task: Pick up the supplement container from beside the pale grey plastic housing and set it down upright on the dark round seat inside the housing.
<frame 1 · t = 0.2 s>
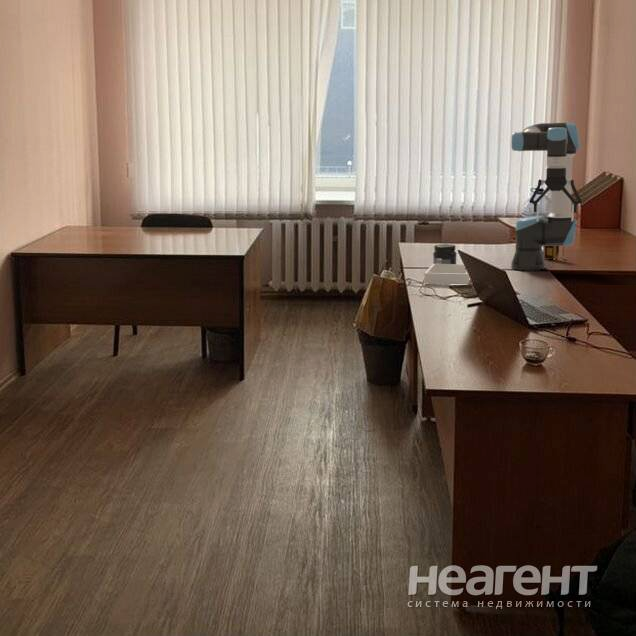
hand: (554, 220, 403), 28 cm above the table, tool pointing down, fingers open, 13 cm apart
supplement container: (444, 272, 455), on the table
housing: (449, 280, 435), on the table
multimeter: (555, 259, 482), on the table
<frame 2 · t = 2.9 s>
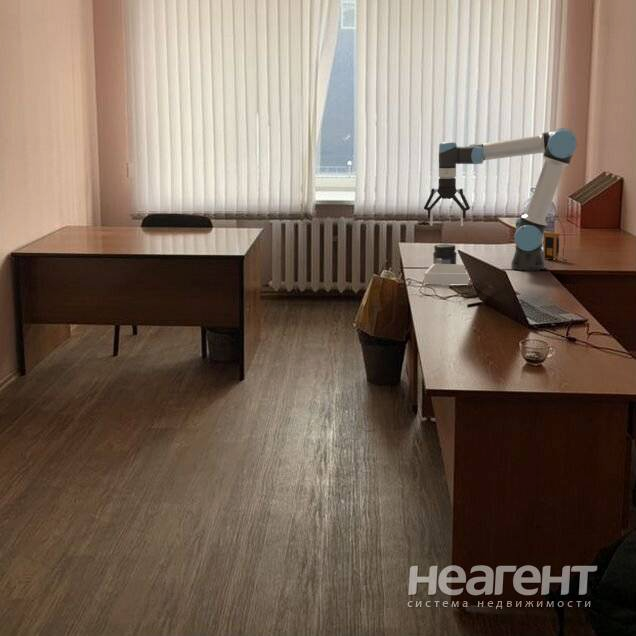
hand: (446, 225, 449), 21 cm above the table, tool pointing down, fingers open, 13 cm apart
nothing on the table moved.
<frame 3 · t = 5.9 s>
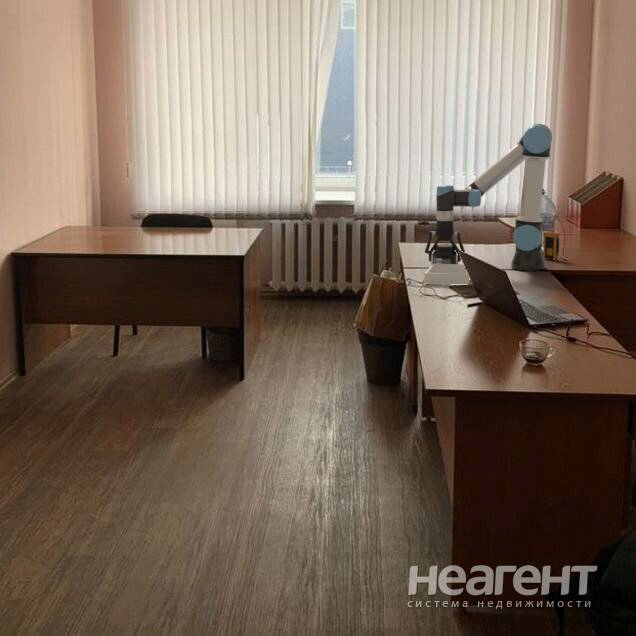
hand: (444, 268, 455), 1 cm above the table, tool pointing down, fingers closed on supplement container, 10 cm apart
supplement container: (444, 272, 455), on the table, touching gripper
everything else where it was.
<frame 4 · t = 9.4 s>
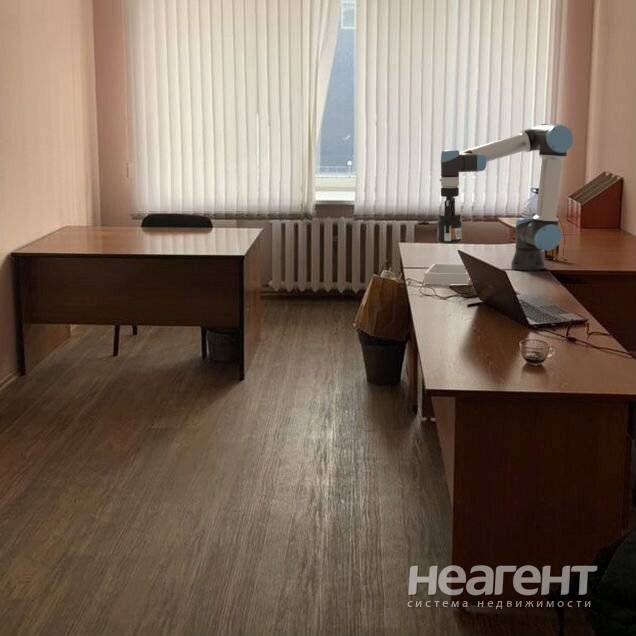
hand: (449, 238, 431), 18 cm above the table, tool pointing down, fingers closed on supplement container, 10 cm apart
supplement container: (449, 242, 432), point 16 cm above the table, touching gripper
everything else where it was.
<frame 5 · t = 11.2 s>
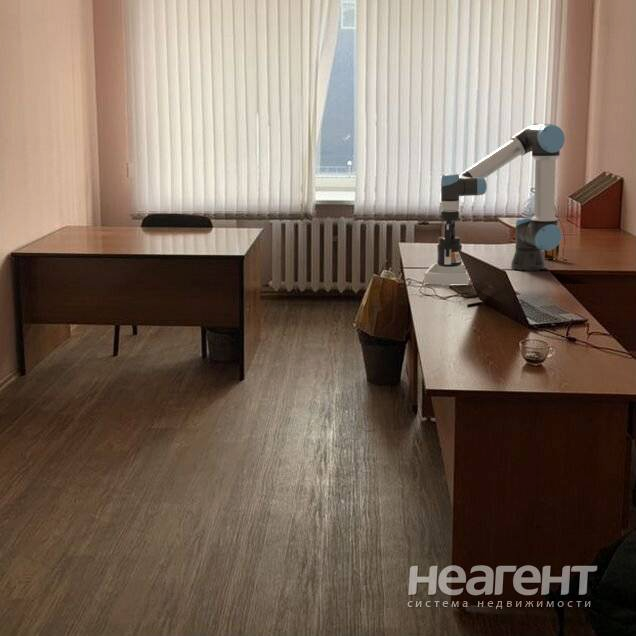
hand: (449, 262, 433), 8 cm above the table, tool pointing down, fingers closed on supplement container, 10 cm apart
supplement container: (449, 265, 434), point 6 cm above the table, touching gripper
everything else where it was.
when the fingers open (4 cm above the table, at t = 13.0 s): supplement container drops 2 cm, resting on housing.
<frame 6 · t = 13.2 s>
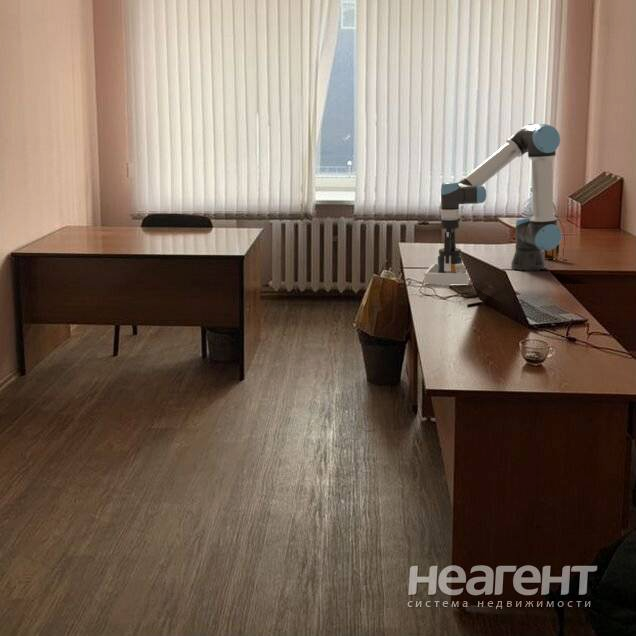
hand: (449, 268, 434), 5 cm above the table, tool pointing down, fingers open, 13 cm apart
supplement container: (449, 277, 435), point 1 cm above the table, touching housing
everything else where it was.
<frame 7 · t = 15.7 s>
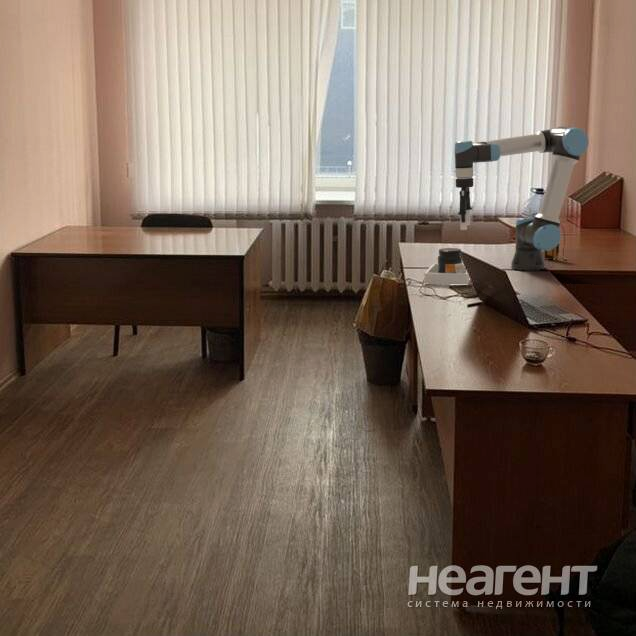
hand: (465, 227, 433), 22 cm above the table, tool pointing down, fingers open, 13 cm apart
nothing on the table moved.
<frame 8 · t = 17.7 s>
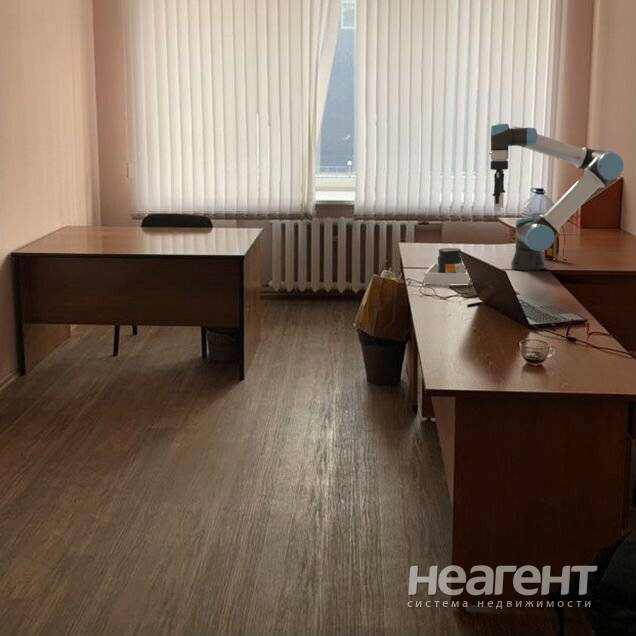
hand: (498, 209, 439), 29 cm above the table, tool pointing down, fingers open, 13 cm apart
nothing on the table moved.
at the end: supplement container inside the target area on the housing (0.2 cm from its centre), point 1.1 cm above the housing's base; supplement container tilted 0°; the gripper is holding nothing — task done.
